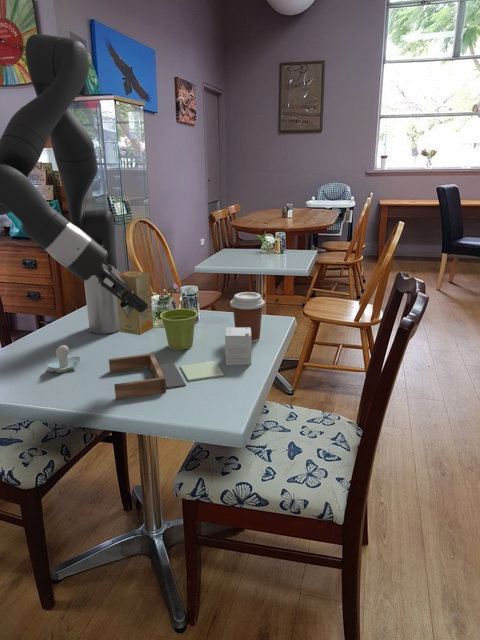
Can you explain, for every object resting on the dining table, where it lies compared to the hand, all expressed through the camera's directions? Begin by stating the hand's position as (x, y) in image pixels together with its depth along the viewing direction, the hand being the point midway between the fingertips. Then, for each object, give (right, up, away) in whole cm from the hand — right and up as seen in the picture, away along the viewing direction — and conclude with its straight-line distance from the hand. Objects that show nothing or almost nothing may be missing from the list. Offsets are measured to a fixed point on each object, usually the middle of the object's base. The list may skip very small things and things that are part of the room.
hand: (142, 303), depth 100 cm
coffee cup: (+22, -9, +29) cm, 38 cm away
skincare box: (+20, -13, +15) cm, 28 cm away
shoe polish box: (-1, -6, +1) cm, 6 cm away
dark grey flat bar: (+5, -16, +7) cm, 18 cm away
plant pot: (+5, -10, +24) cm, 27 cm away
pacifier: (-21, -15, +12) cm, 28 cm away
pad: (+12, -15, +9) cm, 21 cm away
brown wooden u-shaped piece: (-3, -17, +4) cm, 17 cm away
